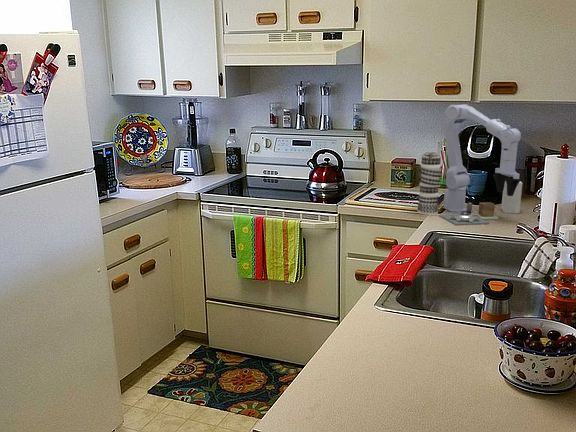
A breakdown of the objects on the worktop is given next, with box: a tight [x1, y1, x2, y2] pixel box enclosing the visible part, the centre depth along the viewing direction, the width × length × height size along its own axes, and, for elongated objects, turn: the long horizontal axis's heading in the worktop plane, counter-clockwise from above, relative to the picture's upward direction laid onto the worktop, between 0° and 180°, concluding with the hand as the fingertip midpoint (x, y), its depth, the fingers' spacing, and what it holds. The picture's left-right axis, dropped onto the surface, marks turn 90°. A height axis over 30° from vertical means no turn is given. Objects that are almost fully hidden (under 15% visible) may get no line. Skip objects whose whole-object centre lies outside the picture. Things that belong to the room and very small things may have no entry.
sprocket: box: [448, 202, 481, 222], centre depth 243 cm, size 12×12×5 cm
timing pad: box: [480, 215, 499, 221], centre depth 249 cm, size 8×7×1 cm
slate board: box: [438, 213, 490, 226], centre depth 244 cm, size 15×14×1 cm
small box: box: [500, 180, 524, 214], centre depth 259 cm, size 8×6×13 cm
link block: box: [477, 201, 496, 217], centre depth 248 cm, size 4×5×5 cm
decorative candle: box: [417, 151, 443, 216], centre depth 253 cm, size 9×9×25 cm
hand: (505, 193), depth 243 cm, fingers open, 7 cm apart
